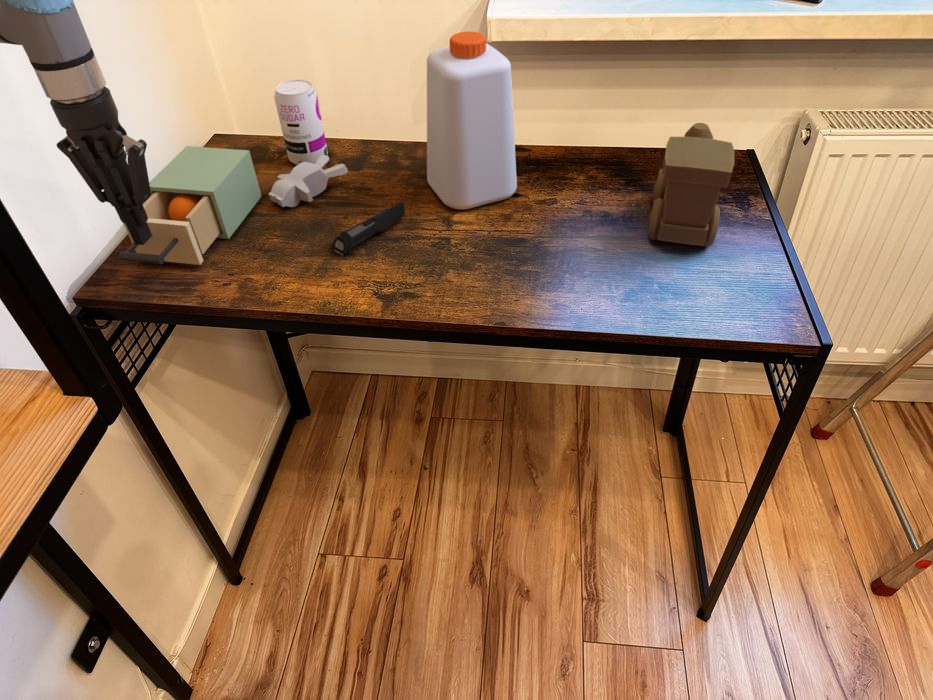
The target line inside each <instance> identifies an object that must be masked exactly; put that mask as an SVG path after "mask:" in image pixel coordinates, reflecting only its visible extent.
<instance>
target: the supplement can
mask: <svg viewBox="0 0 933 700" xmlns="http://www.w3.org/2000/svg"><path fill="white" fill-rule="evenodd" d="M273 98H274V103H275V107H276V111H277V115H278V119H279V120H278V121H279V124H280V129H281V133H282V137H283V142H284V146H285V150H286V154H287V158H288V161H289V162H291V163H292V164H293V165H295V166H297V165H298V164H300V163H302V162H308V163H313V164H315V163H316V162H317V160H318V159H319V157H320V156H322V155H327V156H328V154H329V152H328V146H327V141H326V136H325V130H324V125H323V119H322V114H321V108H320V103H319V100H318V99H319V98H318V92H317V91H316V89H315V87H314V86H313V85H312V83H311V82H310V81H309V80H305V79H291V80H287V81H283V82H281V83H279V84H278V85H276V87H275V91H274V95H273Z"/></svg>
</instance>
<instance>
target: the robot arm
mask: <svg viewBox="0 0 933 700" xmlns="http://www.w3.org/2000/svg"><path fill="white" fill-rule="evenodd" d="M0 44H6V45H7V44H8V45H15V46H22V48H23V51H24V52H25V54H26V56H27V58H28V61H29V63H30V65H31V66H32V68H33V71H34V72H35V75H36V78H37V80H38V82H39V83H40V86H41V87H42V90H43V92H44V94H45V97H47V98H48V99H50V101H49V104H50V106H51V109H52V111H53V112H54V115H55V117H56V119H57V121H58V123H59V125H60V126H61V128H63V129H64V130H65V134H66V136H65V137H64V138H62V139H61V140H59V141H58V142H57V143H56V147H57V149H58V150H59V151H60V152H61V153H62V154H63V155H65V156H66V157H67V158H68V159H69V161H70V163H72V165H73V166H74V168H75V169H76V170H77V172H78V174H79V175H80V176H81V178H82V179H83V181H84V182H85V183H86V185H87V186H88V188H89V189H90V190H91V192H92V193H93V195H94V196H95V197H96V199H97V201H99V202H100V203H102V204H103V203H109V204H110V205H111V206H112V207H114V210H115V211H116V213H117V216H118V218H119V220H120V222H121V223H122V224H123V223H124V224H126V226H127V228H128V230H129V233H130V235H131V237H132V239H133V241H134V243H135V244H136V245H144V244H145V243H146V242H147V241H148V240H149V239H150V238H151V236H152V233H151V231H150V229H149V226H148V224H147V221H148V216H147V214H146V211H145V209H144V207H143V204H144V203H145V202H146V201H147V200H148V199H149V198H150V197H151V190H150V184H149V182H150V179H149V173H148V168H147V161H146V160H147V159H146V155H145V154H146V151H147V147H148V143H147V142H146V141H145V140H144V139H143V138H141V139H139V140H136V139H134V138H132V137H130V136H129V135H128V133H127V131H126V129H125V128H124V127H123V126H122V124H121V123H120V121H119V110H118V107H117V105H116V103H115V100H114V98H113V95H112V93H111V90H110V89H109V88H108V87H106V85H107V82H106V79H105V77H104V74H103V71H102V70H101V67H100V64H99V62H98V60H97V58H96V57H97V56H96V54H95V52H94V49H93V48H92V45H91V41H90V39H89V37H88V35H87V32H86V29H85V26H84V24H83V21H82V20H81V17H80V13H79V12H78V9H77V7H76V4H75V1H74V0H0ZM124 224H123V225H124Z"/></svg>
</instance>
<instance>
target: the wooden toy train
mask: <svg viewBox="0 0 933 700" xmlns="http://www.w3.org/2000/svg"><path fill="white" fill-rule="evenodd" d="M734 167H735V147H734V145H733V143H732V142H730V141H725V140H720V139H714V135H713V133H712V132H711V128H710V126H709V125H708V124H706V123H704V122H696V123H694V124H692V126H691V127H690V128H689V129H688V130H687V131H686V132H685V133H684V135H683V136H669V138H668V140H667V142H666V146H665V152H664V156H663V162H662V168H660V169H659V170H658V174H657V178H656V181H655V183H654V185H653V202H652V205H653V206H652V209H651V211H650V214H649V216H648V233H647V235H648V238H649V239H650V240H651V241H652V240H653V241H654V240H657V241H663V242H669V243H676V244H684V245H692V246H699V247H700V246H701V247H706V248H708V247H712V245H713V244H714V243H715V241H716V236H717V234H718V230H719V227H720V225H719V223H720V217H721V208H720V207H719V205H717V204H718V200H719V197H720V192H721V188H726V189H728V187H729V184H730V182H731V181H730V180H731V178H732V177H731V176H732V173H733V170H734Z"/></svg>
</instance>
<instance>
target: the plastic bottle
mask: <svg viewBox="0 0 933 700" xmlns="http://www.w3.org/2000/svg"><path fill="white" fill-rule="evenodd" d="M517 178H518V177H517V160H516V139H515V119H514V101H513V79H512V65H511V62H510V60H509V58H507V57H506V56H505V55H504V54H503V53H501V52H500V51H499V50H497V48H495V47H493V46H492V45H490V44H488V43H487V38H486V37H485V35H484V34H482V33H481V32H478V31H460V32H457V33H455V34H453V35H451V36H450V38H449V46H447V47H442V48H437V49H435V50H433V51H431V52H430V53H429V54H428V55H427V58H426V181H427V184H428V185H429V186H430V188H431V189H432V190H433V191H434V193H435V194H436V195H437V197H438V198H439V199H440V200H441V202H442V203H443V204H444V205H445V206H447V207H448V208H451V209H453V210H470V209H473V208H478V207H480V206H485V205H489V204H493V203H497V202H500V201H504V200H506V199H509V198H510V197H512V196H513V195H514V194H515V193H516V191H517V187H518V179H517Z"/></svg>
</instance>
